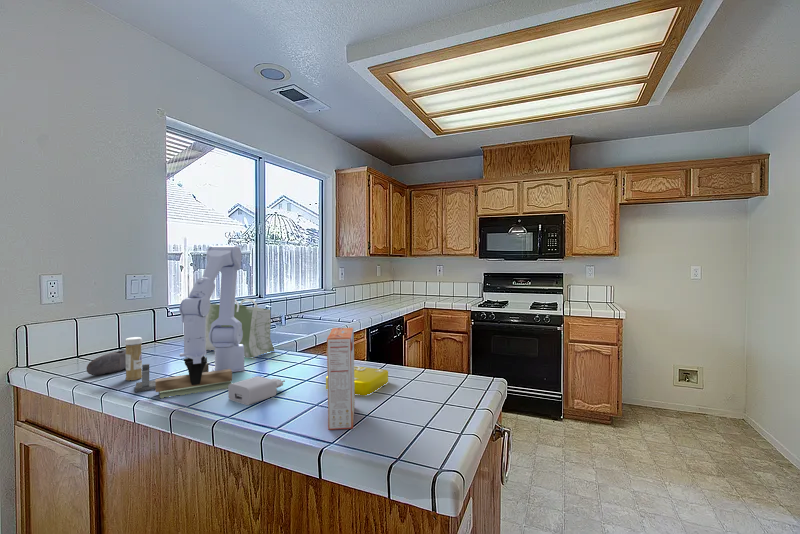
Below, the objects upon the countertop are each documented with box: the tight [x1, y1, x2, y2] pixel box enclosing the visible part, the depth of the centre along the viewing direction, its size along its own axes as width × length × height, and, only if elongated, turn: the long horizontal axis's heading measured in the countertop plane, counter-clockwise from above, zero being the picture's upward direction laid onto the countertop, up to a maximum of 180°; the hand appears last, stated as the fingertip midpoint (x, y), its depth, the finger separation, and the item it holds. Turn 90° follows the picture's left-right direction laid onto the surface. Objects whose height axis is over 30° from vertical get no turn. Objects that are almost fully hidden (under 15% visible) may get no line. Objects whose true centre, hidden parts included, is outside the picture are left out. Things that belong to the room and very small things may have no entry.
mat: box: [159, 381, 232, 399], centre depth 115 cm, size 19×8×1 cm, turn 123°
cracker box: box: [326, 327, 356, 431], centre depth 93 cm, size 14×6×21 cm, turn 5°
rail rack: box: [134, 356, 210, 393], centre depth 121 cm, size 21×7×6 cm, turn 123°
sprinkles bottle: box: [124, 336, 143, 382], centre depth 126 cm, size 5×5×14 cm
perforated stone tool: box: [86, 349, 126, 376], centre depth 134 cm, size 15×5×7 cm, turn 155°
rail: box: [155, 369, 233, 393], centre depth 115 cm, size 20×3×3 cm, turn 123°
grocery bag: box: [206, 298, 275, 358], centre depth 167 cm, size 32×14×23 cm, turn 60°
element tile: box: [325, 365, 389, 395], centre depth 118 cm, size 15×15×5 cm
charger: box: [227, 375, 286, 406], centre depth 110 cm, size 5×9×15 cm
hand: (195, 382), depth 115 cm, fingers closed on rail, 3 cm apart
